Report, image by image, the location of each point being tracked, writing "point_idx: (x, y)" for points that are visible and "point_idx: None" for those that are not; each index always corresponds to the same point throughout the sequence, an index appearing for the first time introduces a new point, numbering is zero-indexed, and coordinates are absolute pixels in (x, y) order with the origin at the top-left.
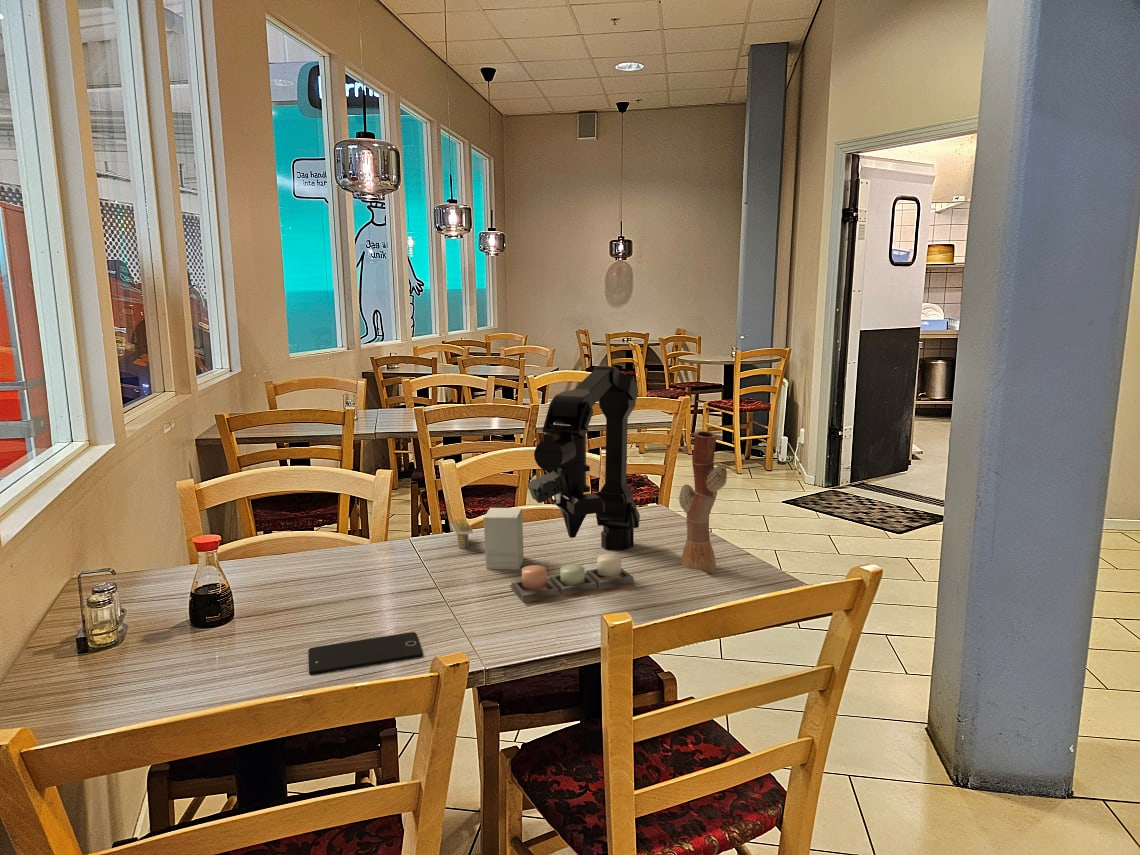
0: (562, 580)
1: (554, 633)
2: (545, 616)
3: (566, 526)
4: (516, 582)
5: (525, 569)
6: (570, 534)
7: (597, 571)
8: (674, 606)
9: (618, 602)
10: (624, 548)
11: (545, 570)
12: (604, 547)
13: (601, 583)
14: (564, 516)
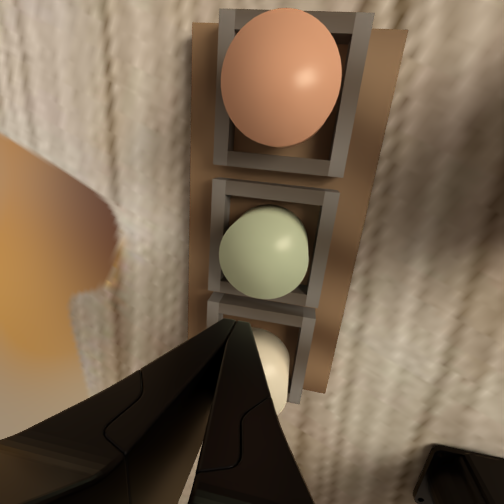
0: (261, 207)
1: (46, 56)
2: (151, 80)
3: (243, 356)
4: (357, 36)
5: (304, 38)
6: (211, 328)
7: (267, 333)
8: (105, 369)
9: (162, 295)
10: (433, 491)
11: (243, 130)
12: (483, 465)
13: (209, 302)
14: (220, 425)
